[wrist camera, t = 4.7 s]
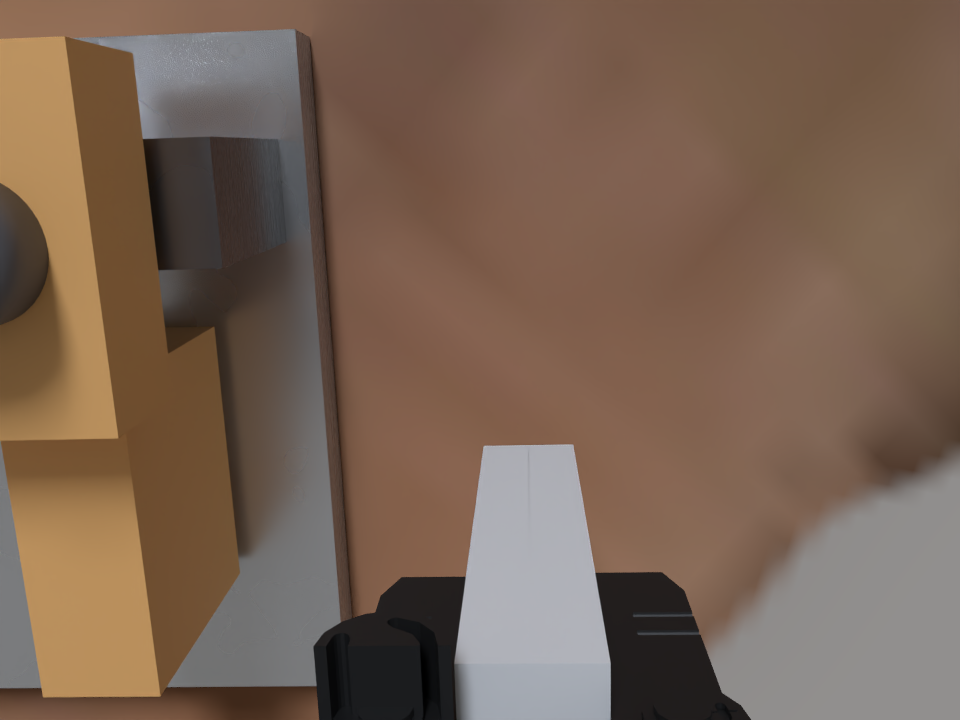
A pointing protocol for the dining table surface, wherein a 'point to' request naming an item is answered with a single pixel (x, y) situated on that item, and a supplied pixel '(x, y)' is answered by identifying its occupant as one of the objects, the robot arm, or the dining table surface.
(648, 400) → the dining table surface
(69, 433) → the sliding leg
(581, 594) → the robot arm
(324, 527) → the plate
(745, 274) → the dining table surface
